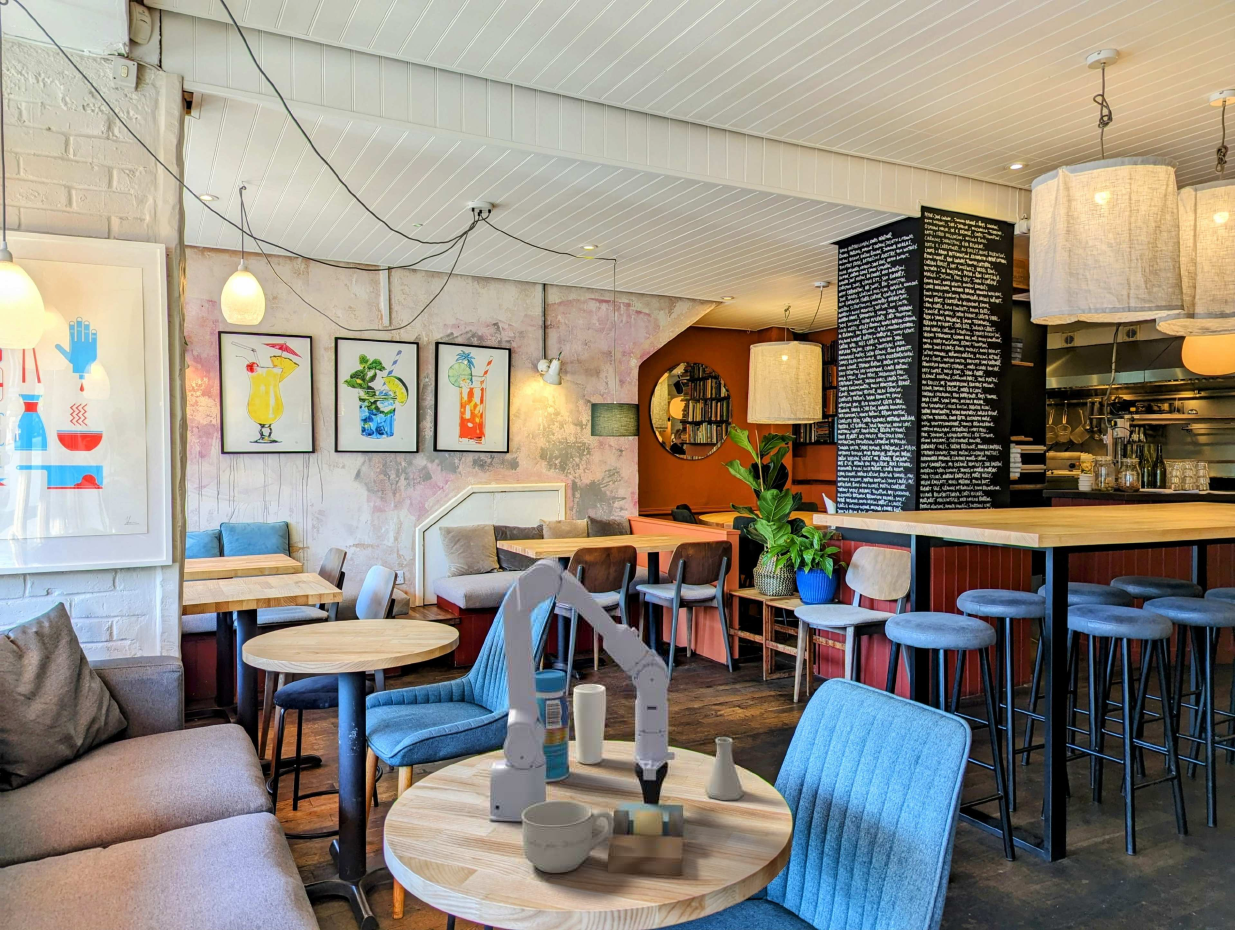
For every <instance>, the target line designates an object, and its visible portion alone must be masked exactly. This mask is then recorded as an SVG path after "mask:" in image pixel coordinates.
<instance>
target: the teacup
mask: <svg viewBox="0 0 1235 930" xmlns="http://www.w3.org/2000/svg"><path fill="white" fill-rule="evenodd" d="M547 801H548V802H543V803H539V804H535V805H533V806H530V807H528V808H527V809H526V810H525V811H524V812H523V813H522V820H523V822H522V844H523V847H522V848H523V853H524V855H525V857H526V859H527V860H528V862H529V863H530V864H532V865H533V866H535V867H536V868H537V869H538V870H540V871H542V872H545V873H549V874H550V873H551V874H561V873H566V872H570V871H574V870H575V869H577V868H578V867H579V866H580V865H581V864H582V863H583V862H584V861H585V860H586V859H587V858H588V856H589V855H590V852H591V851H593V850H594V849H595V848H596V847H597V845H598V844H600V843H601V842H603V841H604V840H606V839H607V838H608V837H609V836H610V835H611V833H613V827H614V820H613V815H612V814H611V812H609V811H608V810H605V809H599V810H596V811H595V812H593V810H592V808H591V807H590V806H588V805H587V804H585V803H582V802H578V801H575V800H572V801H571V800H550V801H549V800H547ZM600 818H604V819H606V822H607V825H606V827H605V829H604V830H603V831H602V832H600V833H599V834H598V835H596V836H594V837H593V829H594V828H595V824H596V822H597V821H598V820H599V819H600Z"/></svg>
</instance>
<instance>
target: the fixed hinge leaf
mask: <svg viewBox="0 0 1235 930" xmlns="http://www.w3.org/2000/svg"><path fill="white" fill-rule="evenodd" d="M612 817H613V820H614V827H613V830H612V835H611V839H610V844H609V848H608V854H607V873H620V874H621V873H622V874H639V875H641V874H644V875H665V876H667V875H668V876H683V869H684V867H683V866H684V865H683V860H684V856H683V853H684V851H683V850H684V849H683V848H684V812H683V813H682V812H669V821H668V837H664V836H663V837H662V836H637V835H629V810H618V809H614V811H613V815H612Z"/></svg>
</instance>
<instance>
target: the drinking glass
mask: <svg viewBox="0 0 1235 930" xmlns="http://www.w3.org/2000/svg"><path fill="white" fill-rule="evenodd" d="M606 689H607V688H606V687H605V686H604V685H601V684H595V683H586V684H579V685H576V686H575V687H573V697H572V699H573V704H572V706H573V708H572V709H573V719H574V720H573V721H574V734H575V745H576V747H575V748H576V749H575V750H576V760H577V762H578V763H580V764H583V765H595V764H598V763H600V762H601V761H602V760H603V748H604V735H605V734H604V733H605V725H606V724H605V721H606V714H607V713H606V708H607V693H606V692H607V691H606Z"/></svg>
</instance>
